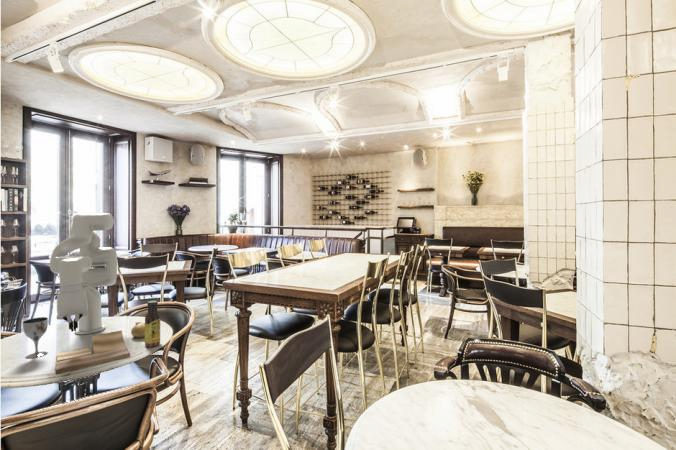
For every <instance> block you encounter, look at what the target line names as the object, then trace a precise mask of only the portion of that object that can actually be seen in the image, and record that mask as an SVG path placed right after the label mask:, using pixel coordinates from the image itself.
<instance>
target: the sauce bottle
mask: <svg viewBox="0 0 676 450" xmlns="http://www.w3.org/2000/svg"><path fill="white" fill-rule="evenodd" d="M158 303H159V302H158V300H150V301H147V303H146V304H147V313H146V315H145V317H144V323H145V337H144V346H145V347H146V348H153V347H157V346H159V345H160V344H161V317H160V315H159V312H158Z"/></svg>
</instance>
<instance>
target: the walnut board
mask: <svg viewBox="0 0 676 450" xmlns="http://www.w3.org/2000/svg"><path fill="white" fill-rule="evenodd" d="M127 357H128V358H129V357H131V352H130V350H129V348H128V347H127V346H125V347H122V348H118V349H113V350H109V351H104V352H100V353H95V354H94V353H91V355H86V356H82V357H77V358H73V359H68V360H64V361H59V362H57V361H55V362H54V363H55V374H56V375H58V374H61V373H65V372H70V371H74V370H78V369H82V368H87V367H90V366H91V367H92V366H95V365H98V364H99V365H100V364H104V363H106V362H111V361H115V360H121V359H124V358H127Z"/></svg>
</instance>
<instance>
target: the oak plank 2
mask: <svg viewBox="0 0 676 450" xmlns="http://www.w3.org/2000/svg"><path fill="white" fill-rule="evenodd" d="M91 341H92V349H93V354H95V353H100V352H104V351H109V350H113V349H118V348H122V347H126V345H125V341H124V335H123V330H115V331H112V332H111V331H110V332H105V333H103V334H96V335H92V336H91Z"/></svg>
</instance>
